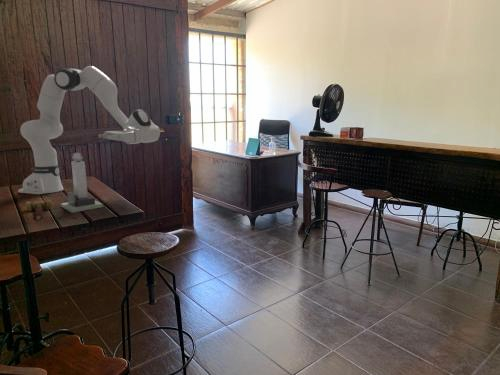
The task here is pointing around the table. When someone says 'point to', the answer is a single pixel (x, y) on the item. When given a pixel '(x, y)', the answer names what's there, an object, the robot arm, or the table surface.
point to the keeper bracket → (80, 203)
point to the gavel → (38, 207)
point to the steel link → (79, 176)
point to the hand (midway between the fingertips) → (103, 136)
